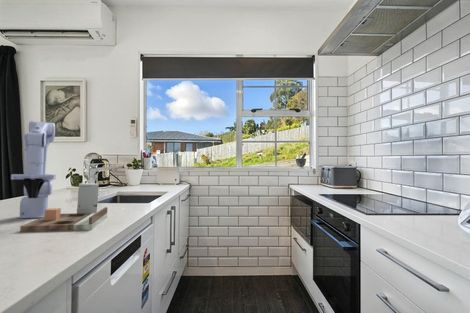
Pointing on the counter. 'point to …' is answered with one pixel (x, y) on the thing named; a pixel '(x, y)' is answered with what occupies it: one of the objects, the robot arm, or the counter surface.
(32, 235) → the counter surface
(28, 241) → the counter surface
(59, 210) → the terracotta block
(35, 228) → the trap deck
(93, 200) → the skincare box
